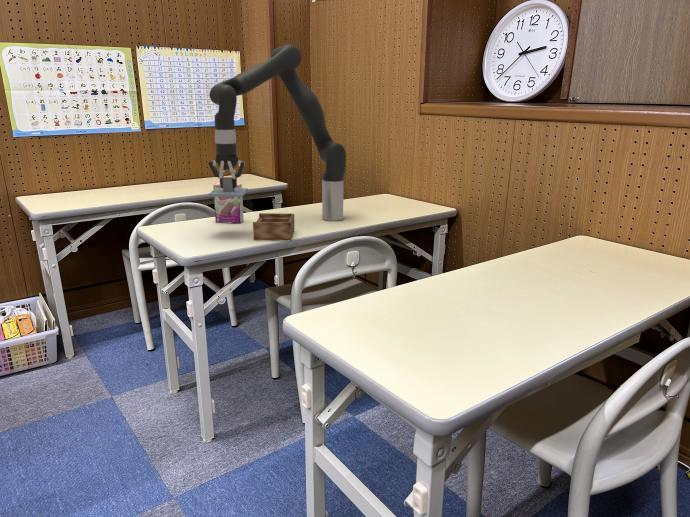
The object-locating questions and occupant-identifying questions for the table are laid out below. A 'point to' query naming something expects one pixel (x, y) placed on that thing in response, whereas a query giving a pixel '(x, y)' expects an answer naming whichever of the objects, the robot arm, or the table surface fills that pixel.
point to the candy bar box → (228, 207)
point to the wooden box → (274, 226)
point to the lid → (228, 190)
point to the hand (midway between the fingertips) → (228, 187)
